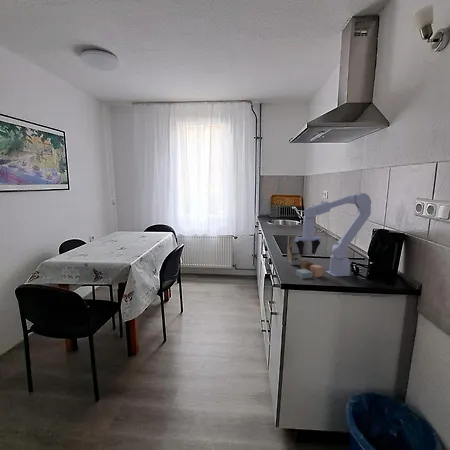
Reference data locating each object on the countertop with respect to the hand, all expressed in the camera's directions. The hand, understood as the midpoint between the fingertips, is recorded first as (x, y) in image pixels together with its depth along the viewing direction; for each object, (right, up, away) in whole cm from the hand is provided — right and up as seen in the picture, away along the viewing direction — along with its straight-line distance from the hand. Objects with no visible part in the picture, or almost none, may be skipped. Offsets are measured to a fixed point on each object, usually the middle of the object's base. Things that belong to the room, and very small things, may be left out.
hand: (307, 254), depth 145 cm
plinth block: (-4, -11, -7) cm, 14 cm away
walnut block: (0, -9, +2) cm, 10 cm away
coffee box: (-3, -7, +16) cm, 18 cm away
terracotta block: (+3, -11, -6) cm, 12 cm away
